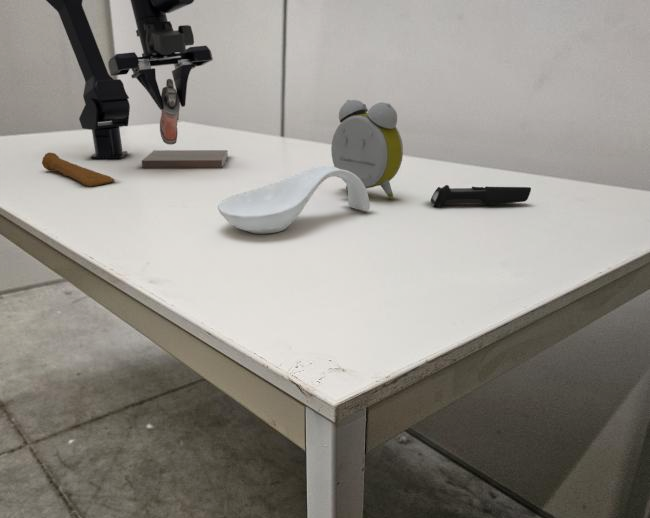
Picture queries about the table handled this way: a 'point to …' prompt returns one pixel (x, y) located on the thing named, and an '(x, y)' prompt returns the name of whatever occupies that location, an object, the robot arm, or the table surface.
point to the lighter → (169, 113)
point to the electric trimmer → (480, 195)
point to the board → (185, 159)
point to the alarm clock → (368, 143)
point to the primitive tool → (74, 171)
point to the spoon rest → (286, 200)
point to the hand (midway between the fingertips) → (172, 108)
